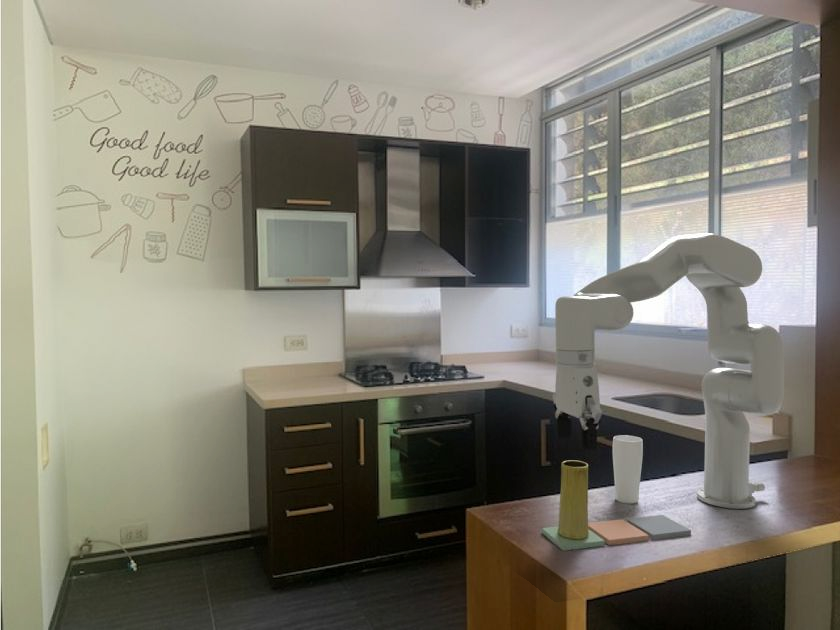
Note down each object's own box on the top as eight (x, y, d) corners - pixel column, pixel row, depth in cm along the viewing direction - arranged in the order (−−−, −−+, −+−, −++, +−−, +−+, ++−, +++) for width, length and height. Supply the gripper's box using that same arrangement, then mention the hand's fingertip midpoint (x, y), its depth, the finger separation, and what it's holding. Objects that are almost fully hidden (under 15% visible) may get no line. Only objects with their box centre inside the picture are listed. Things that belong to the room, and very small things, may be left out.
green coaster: (580, 528, 130) (580, 523, 130) (604, 545, 121) (604, 540, 121) (541, 532, 127) (541, 528, 127) (563, 550, 119) (563, 545, 119)
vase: (568, 525, 129) (569, 457, 128) (594, 534, 124) (596, 464, 124) (551, 533, 124) (553, 463, 124) (578, 542, 120) (580, 470, 119)
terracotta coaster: (622, 523, 133) (622, 519, 133) (648, 540, 124) (648, 535, 124) (585, 528, 130) (585, 523, 130) (609, 545, 122) (609, 540, 121)
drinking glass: (643, 506, 143) (645, 442, 143) (613, 504, 145) (614, 441, 144) (639, 497, 150) (640, 435, 149) (610, 495, 151) (611, 434, 151)
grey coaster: (662, 519, 135) (662, 514, 135) (690, 535, 127) (690, 530, 127) (626, 523, 133) (626, 518, 133) (652, 539, 124) (653, 534, 124)
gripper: (616, 362, 116) (617, 452, 117) (570, 352, 132) (571, 431, 133) (580, 364, 114) (581, 456, 115) (538, 354, 130) (539, 434, 131)
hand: (576, 443), depth 124 cm, fingers open, 9 cm apart
